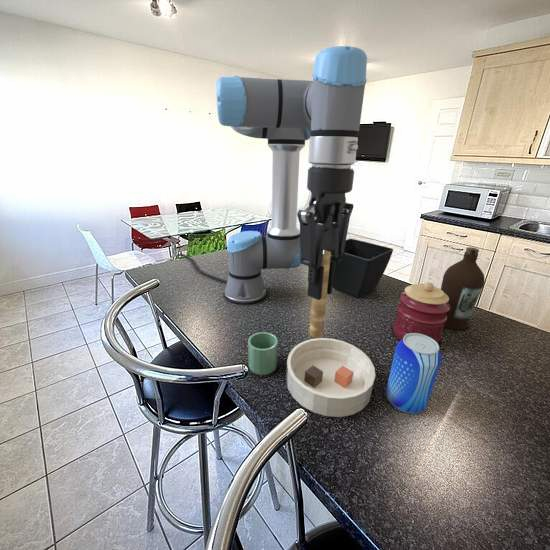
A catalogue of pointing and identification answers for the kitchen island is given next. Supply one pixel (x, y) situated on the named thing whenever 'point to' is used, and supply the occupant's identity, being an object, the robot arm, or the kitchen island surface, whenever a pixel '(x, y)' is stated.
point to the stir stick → (320, 301)
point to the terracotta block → (343, 376)
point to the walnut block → (313, 376)
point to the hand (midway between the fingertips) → (319, 293)
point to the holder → (262, 353)
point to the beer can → (413, 372)
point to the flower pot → (360, 267)
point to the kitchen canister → (421, 311)
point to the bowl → (330, 377)
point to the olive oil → (462, 289)
